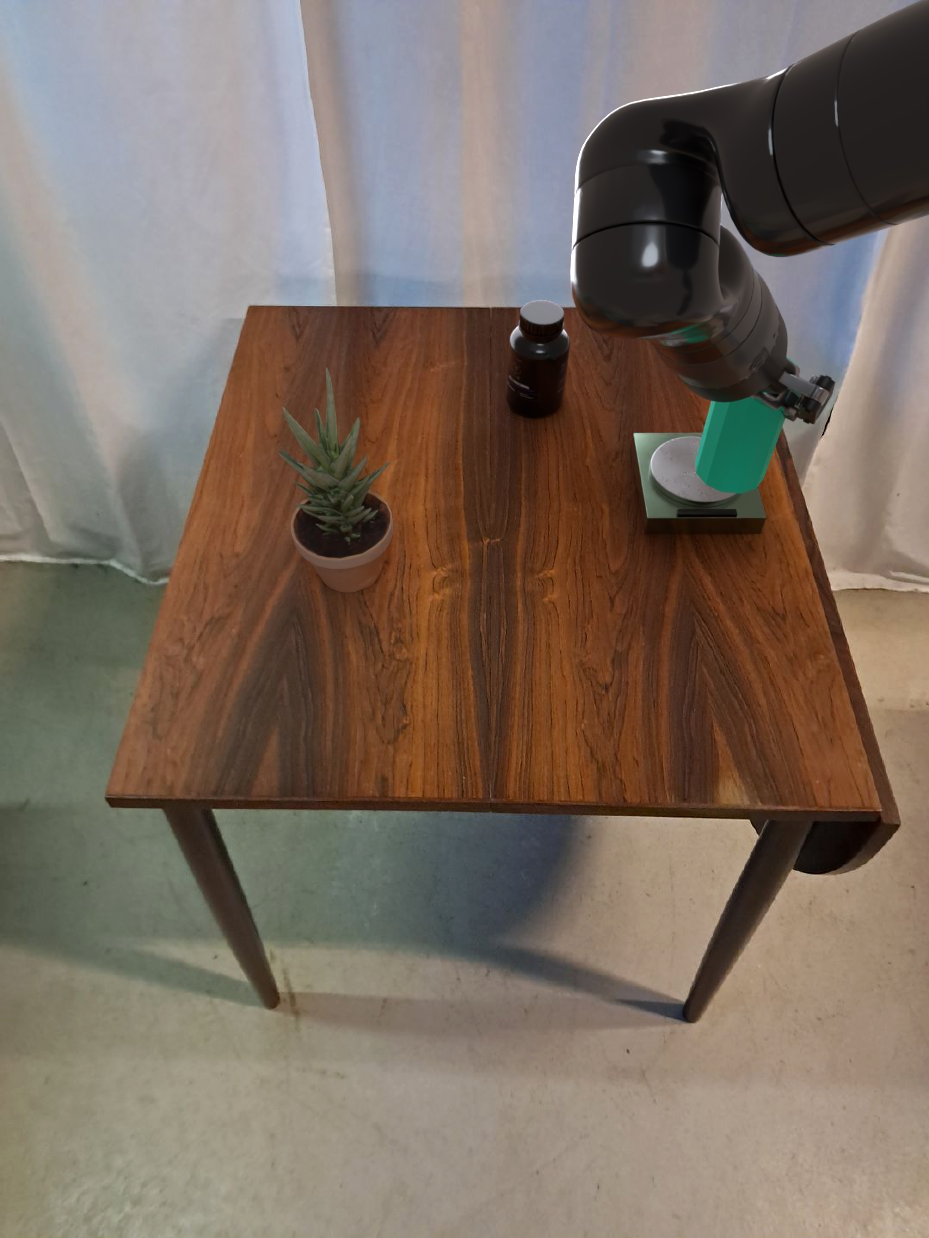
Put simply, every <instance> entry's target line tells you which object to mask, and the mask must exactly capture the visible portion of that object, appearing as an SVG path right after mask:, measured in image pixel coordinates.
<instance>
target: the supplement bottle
mask: <svg viewBox="0 0 929 1238" xmlns="http://www.w3.org/2000/svg"><path fill="white" fill-rule="evenodd" d="M507 350H508V351H507V352H508V353H507V367H506V368H507V371H506V387H505V398H506V404H507V405H508V406H509V408H510V409H511V410H512V411H513V412H515V414H518V415H520V416H522V417H525V418H529V419H542V418H546V417H550V416H552V415H554V414H556V413H557V412H558V411H559V410H560V409H561V407H562V406H563V403H564V399H565V393H566V384H567V374H568V367H569V359H570V358H569V357H570V350H571V339H570V337H569V334H568V332H567V331H566V330H565V311H564V309H563V308H562V307H561V306H560V305H559V304H557V303H556V302H553V301H549V300H544V299H538V300H531V301H528V302H527V303H524V305H522V307H521V308H520V311H519V319H518V325H517V326H516V327H515V328H514V329H513V330H512V332H511V333H510V336H509V340H508V349H507Z"/></svg>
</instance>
